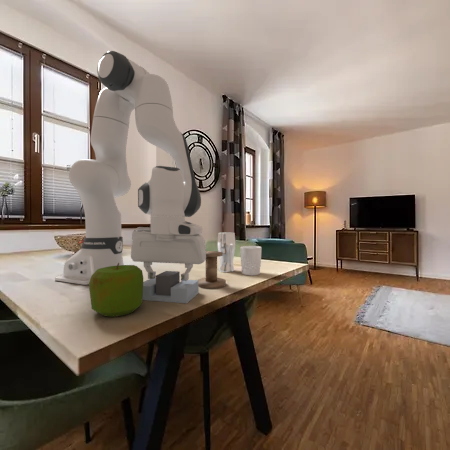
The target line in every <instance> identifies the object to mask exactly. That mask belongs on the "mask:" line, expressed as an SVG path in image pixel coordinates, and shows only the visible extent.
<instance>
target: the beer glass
mask: <svg viewBox="0 0 450 450" xmlns="http://www.w3.org/2000/svg"><path fill="white" fill-rule="evenodd" d="M235 234H236V233H235V232H229V231H227V232H226V231H224V232H223V231H222V232H218V233H217V251H219V252H223V255H222V256H218V258H219V259H218V260H219V265H218V272H220V273H233V272H234V271H235V268H234V267H235V266H234V256H235V251H236V235H235Z"/></svg>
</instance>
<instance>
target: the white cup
mask: <svg viewBox="0 0 450 450" xmlns="http://www.w3.org/2000/svg"><path fill="white" fill-rule="evenodd" d="M239 248H240V265H241V274H242V275H245V276H258V275H260V274H261V264H262V246H259V245H258V246H257V245H241V246H240V247H239Z"/></svg>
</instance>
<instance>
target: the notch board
mask: <svg viewBox="0 0 450 450" xmlns="http://www.w3.org/2000/svg"><path fill="white" fill-rule="evenodd" d="M198 280H199V279H188V281H180V282H179V283H178V284H176V285H175V286H173V287H171V296H164V295H156V278H154V279H147V280H146V279H145V280H143V297H142V301H153V302H155V301H156V302H166V303H167V302H168V303H176V304H177V303H179V304H188V303H189V302H190V301H192V299H194V298H195V297H196V296H197V295H198V294H199V292H200V290H199V289H200V287H198Z"/></svg>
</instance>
